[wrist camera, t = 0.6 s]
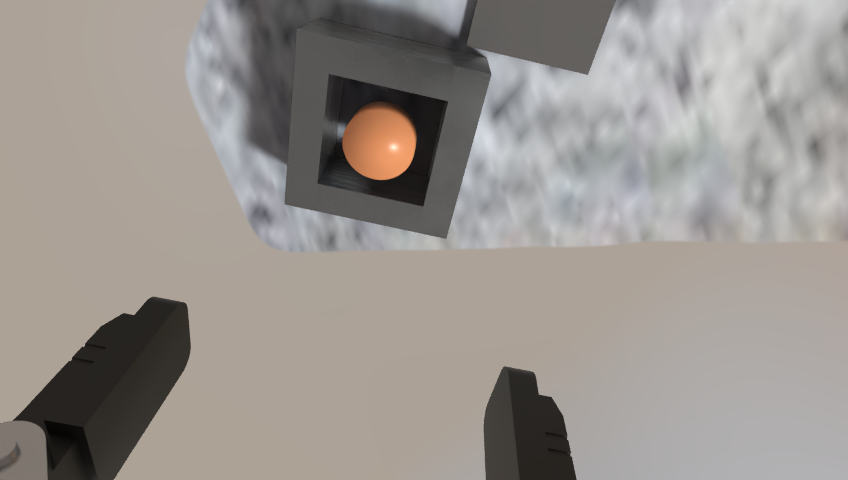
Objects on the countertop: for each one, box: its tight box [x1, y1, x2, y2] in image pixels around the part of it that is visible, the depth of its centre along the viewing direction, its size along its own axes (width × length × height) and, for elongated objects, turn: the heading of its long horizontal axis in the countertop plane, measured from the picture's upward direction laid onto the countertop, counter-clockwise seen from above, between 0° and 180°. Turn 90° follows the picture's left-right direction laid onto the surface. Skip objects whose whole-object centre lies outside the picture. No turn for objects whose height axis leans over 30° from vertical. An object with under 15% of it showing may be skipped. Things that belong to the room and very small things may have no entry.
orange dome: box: [343, 101, 417, 180], centre depth 30 cm, size 4×4×2 cm
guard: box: [285, 18, 491, 239], centre depth 32 cm, size 11×11×5 cm
